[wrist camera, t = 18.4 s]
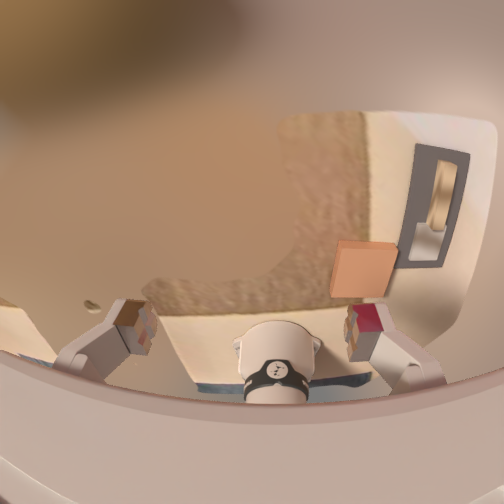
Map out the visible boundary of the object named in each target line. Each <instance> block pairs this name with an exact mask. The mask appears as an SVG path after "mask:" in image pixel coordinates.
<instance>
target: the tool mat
mask: <svg viewBox="0 0 504 504" xmlns="http://www.w3.org/2000/svg"><path fill="white" fill-rule="evenodd" d="M438 160H444V161H450V162H452V163H453V164H455V165H457V172H456V177H455V183H454V188H453V193H452V197H451V202H450V206H449V210H448V215H447V218H446V222H445V224H446V225H447V228H446V231H445V235H444V239H443V242H442V245H441V249H440V252H439V255H438V258H437V260H424V261H410V260H409V258H408V257H409V254H410V250H411V246H412V243H413V239H414V235H415V230H416V226H417V223H426V221H427V217H428V212H429V208H430V203H431V198H432V193H433V188H434V182H435V176H436V170H437V164H438ZM469 160H470V154H469V153H464V152H460V151H455V150H450V149H445V148H440V147H434V146H428V145H422V144H416V145H415V154H414V162H413V169H412V176H411V182H410V188H409V194H408V200H407V205H406V210H405V215H404V220H403V225H402V229H401V234H400V238H399V242H398V247H397V249H398V254H397V257H396V260H395V264H394V267H393V268H431V267H442V265H443V262H444V259H445V256H446V253H447V250H448V247H449V244H450V241H451V238H452V234H453V231H454V227H455V224H456V220H457V216H458V213H459V209H460V205H461V200H462V196H463V192H464V187H465V182H466V177H467V172H468V166H469Z"/></svg>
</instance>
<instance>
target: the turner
mask: <svg viewBox="0 0 504 504" xmlns="http://www.w3.org/2000/svg"><path fill="white" fill-rule="evenodd" d="M456 172H457V165H455V164H453V163H452V162H450V161H444V160H438V164H437V170H436V176H435V182H434V188H433V193H432V198H431V203H430V208H429V212H428V217H427V221H426V223H417V226H416V230H415V235H414V239H413V243H412V246H411V250H410V254H409V257H408V258H409V260H410V261H424V260H437V258H438V255H439V252H440V249H441V245H442V242H443V239H444V235H445V231H446V228H447V225H446V224H445V222H446V218H447V215H448V210H449V206H450V202H451V197H452V193H453V188H454V183H455V177H456Z"/></svg>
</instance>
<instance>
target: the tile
mask: <svg viewBox="0 0 504 504" xmlns="http://www.w3.org/2000/svg"><path fill="white" fill-rule="evenodd" d="M397 254H398V249H397V247H396V246H395V244H394V243H384V242H365V241H344V240H339V242H338V248H337V253H336V258H335V263H334V268H333V273H332V278H331V283H330V288H329V289H330V294H331V297H383V296H384V293H385V291H386V288H387V285H388V282H389V279H390V276H391V273H392V270H393V267H394V264H395V260H396V257H397Z"/></svg>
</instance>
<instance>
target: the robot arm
mask: <svg viewBox="0 0 504 504" xmlns="http://www.w3.org/2000/svg"><path fill="white" fill-rule="evenodd" d="M152 308H153V307H152V305H151V302H149V301H144V300H134V299H122V298H118V299H117V300H116V301H115V303H114V304H113V306H112V308H111V309H110V311H109V313H108V315H107V316H106V318H105V320H104V322H103V324H102V323H100V324H98V325H97V326H95V327H93V328H92V329H90V330H89V331H88V332H86V333H84V334H83V335H82V336H80V337H78V338H77V339H75V340H74V341H72V342H71V343H69V344H68V345H67V346H65V347H64V348H62V350H61V352H60V353H59V355H58V357H57V358H56V360H55V362H54V364H53V366H52V368H49V367H46V366H43V365H40V364H38V363H35V362H32V361H29V360H27V359H24V358H22V357H19V356H17V355H14V354H12V353H9V352H7V351H4V350H0V504H504V367H503V368H500V369H497V370H495V371H492V372H488V373H485V374H482V375H479V376H476V377H472V378H469V379H465V380H462V381H458V382H454V383H450V384H447V382H446V379H445V377H444V374H443V371H442V369H441V366H440V363H439V361H438V360H437V359H436V358H434V357H433V356H432V355H431V354H429V353H428V352H427V351H426V350H424V349H423V348H422V347H421V346H419V345H418V344H417V343H415V342H414V341H413V340H412V339H410V338H409V337H408V336H407V335H405V334H404V333H403V332H402V331H400V330H396V327H395V325H394V322H393V319H392V317H391V314H390V312H389V309H388V307H387V305H386V303H385V302H374V303H356V304H350V305H349V306H348V310H347V312H348V317H347V318H346V319H345V323H344V338H345V341H346V342H347V343H348V347H347V353H348V358H349V362H361V361H369V363H370V364H371V365H372V366H373V367H374V368H375V370H376V371H377V372H378V373H379V374H380V375H381V376H382V377H383V379H385V381H386V382H387V383H388V384H389V385H390V387H391V388H392V389H393V390H392V391H391V393H390V394H389V396H384V397H377V398H369V399H360V400H350V401H339V402H324V403H307V400H308V393H309V387H308V382H310V381H311V376H313V374H314V371H315V366H314V357H315V356H316V354H317V352H318V350H319V348H320V346H321V341H320V340H319V339H317V338H315V337H313V336H311V335H310V334H309V333H308V332H307V331H306V330H305V329H304V328H302V327H301V326H299V325H297V324H294V323H291V322H286V321H269V322H264V323H261V324H258V325H256V326H254V327H252V328H251V329H249V330H248V331H247V332H246V333H245V334H244V335H243V336H241V337H238V338H236V339H234V340H233V348H234V350H235V352H236V354H237V356H238V358H239V373H240V374H241V376H242V378H243V379H244V380H245V386H244V400H245V401H246V403H234V402H219V401H208V400H198V399H189V398H181V397H174V396H167V395H160V394H154V393H148V392H143V391H137V390H132V389H127V388H122V387H118V386H113V385H109V384H107V383H106V382H105V381H104V379H105V378H106V377H107V376H108V375H109V374H110V373H111V372H112V371H113V370H115V369H116V368H117V367H118V366H119V365H120V364H121V363H122V362H123V361H124V360H125V359H126V358H127V357H129V356H130V354H136V355H145V356H147V355H148V353H149V350H150V348H151V345H152V343H151V341H150V339H152V338H153V337H154V336H155V334H156V332H157V319H156V316H155V315H154V314H153V313H152V312H151V310H152Z"/></svg>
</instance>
